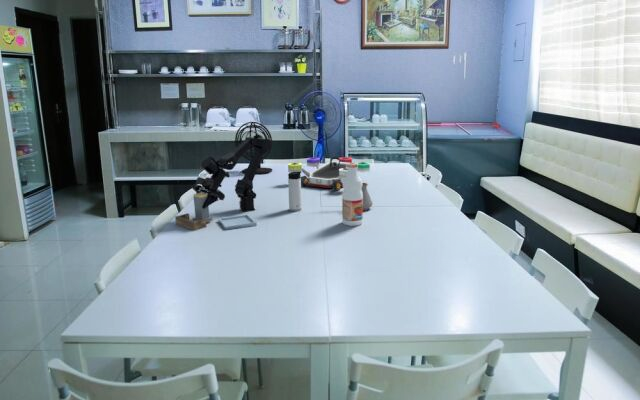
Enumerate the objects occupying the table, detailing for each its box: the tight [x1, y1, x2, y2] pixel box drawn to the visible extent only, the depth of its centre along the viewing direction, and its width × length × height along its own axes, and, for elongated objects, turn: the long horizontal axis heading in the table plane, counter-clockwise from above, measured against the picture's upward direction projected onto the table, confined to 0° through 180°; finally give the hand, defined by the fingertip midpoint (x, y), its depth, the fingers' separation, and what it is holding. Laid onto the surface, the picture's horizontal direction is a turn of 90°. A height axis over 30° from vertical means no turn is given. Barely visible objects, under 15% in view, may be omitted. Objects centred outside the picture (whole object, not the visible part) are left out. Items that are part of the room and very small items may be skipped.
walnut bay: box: [174, 213, 207, 231], centre depth 240 cm, size 7×14×4 cm, turn 49°
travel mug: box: [287, 171, 302, 212], centre depth 261 cm, size 6×7×20 cm
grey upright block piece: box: [192, 193, 213, 223], centre depth 244 cm, size 6×7×13 cm
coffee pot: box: [331, 179, 374, 211], centre depth 263 cm, size 21×12×15 cm, turn 79°
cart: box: [287, 156, 371, 192], centre depth 319 cm, size 45×39×16 cm
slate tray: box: [217, 214, 258, 231], centre depth 243 cm, size 15×15×2 cm
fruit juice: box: [341, 162, 364, 227], centre depth 237 cm, size 9×9×28 cm
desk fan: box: [234, 121, 273, 175], centre depth 352 cm, size 27×18×35 cm, turn 74°
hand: (199, 207), depth 242 cm, fingers closed on grey upright block piece, 5 cm apart
